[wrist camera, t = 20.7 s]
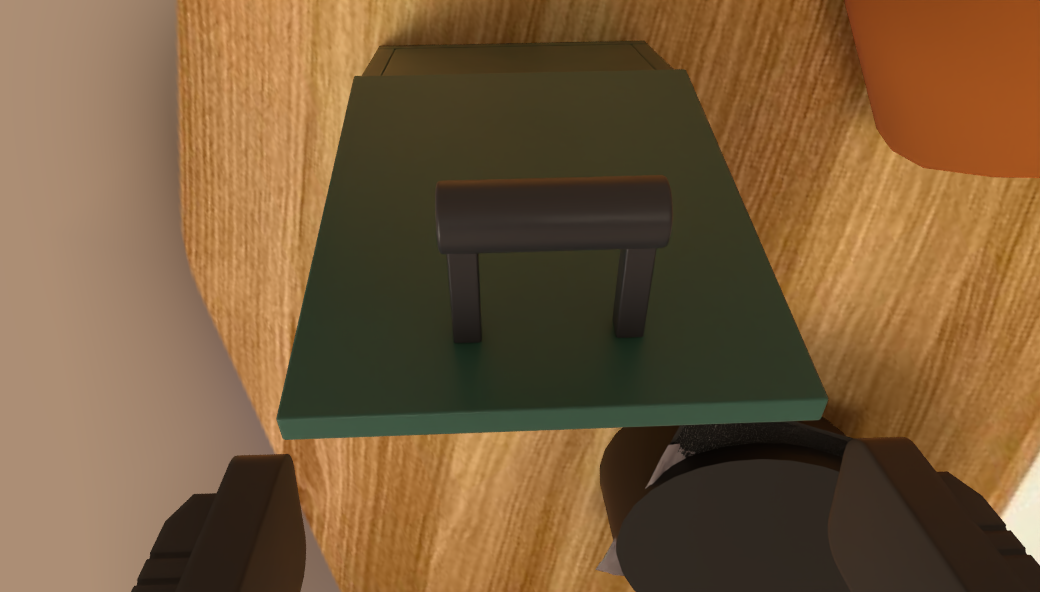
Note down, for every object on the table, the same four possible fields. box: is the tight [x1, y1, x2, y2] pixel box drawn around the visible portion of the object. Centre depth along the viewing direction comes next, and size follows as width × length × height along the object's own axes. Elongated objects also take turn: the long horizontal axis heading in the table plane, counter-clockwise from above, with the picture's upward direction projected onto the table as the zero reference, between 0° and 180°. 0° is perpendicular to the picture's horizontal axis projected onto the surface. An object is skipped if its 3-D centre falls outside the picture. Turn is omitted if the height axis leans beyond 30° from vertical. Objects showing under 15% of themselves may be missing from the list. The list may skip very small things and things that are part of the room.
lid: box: [276, 69, 828, 440], centre depth 23 cm, size 16×13×5 cm
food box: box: [362, 41, 674, 76], centre depth 38 cm, size 16×13×8 cm
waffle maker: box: [596, 417, 853, 592], centre depth 48 cm, size 14×18×8 cm
